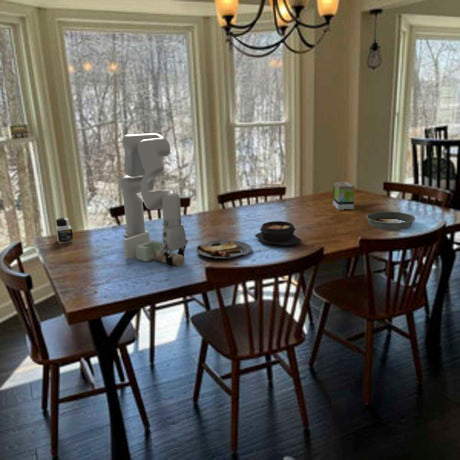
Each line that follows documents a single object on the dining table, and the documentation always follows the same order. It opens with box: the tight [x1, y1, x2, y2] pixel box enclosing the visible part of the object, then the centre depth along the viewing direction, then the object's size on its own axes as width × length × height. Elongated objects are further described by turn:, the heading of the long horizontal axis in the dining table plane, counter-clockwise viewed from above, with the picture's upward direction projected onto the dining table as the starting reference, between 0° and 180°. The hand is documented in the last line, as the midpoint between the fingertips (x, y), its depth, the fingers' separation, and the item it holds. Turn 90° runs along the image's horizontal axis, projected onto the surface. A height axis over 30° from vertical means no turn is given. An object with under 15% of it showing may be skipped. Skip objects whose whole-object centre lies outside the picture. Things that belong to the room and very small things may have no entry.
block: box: [135, 239, 163, 262], centre depth 202 cm, size 6×10×6 cm, turn 143°
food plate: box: [196, 239, 252, 260], centre depth 206 cm, size 25×23×4 cm
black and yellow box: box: [55, 217, 74, 244], centre depth 231 cm, size 7×7×12 cm
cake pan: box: [365, 211, 416, 231], centre depth 238 cm, size 25×25×4 cm
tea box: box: [332, 181, 356, 211], centre depth 278 cm, size 15×10×15 cm, turn 179°
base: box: [122, 231, 150, 260], centre depth 206 cm, size 2×14×9 cm, turn 143°
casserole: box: [254, 220, 302, 247], centre depth 217 cm, size 25×19×8 cm
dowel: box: [153, 250, 185, 267], centre depth 195 cm, size 14×5×5 cm, turn 53°
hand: (175, 262), depth 193 cm, fingers open, 6 cm apart
